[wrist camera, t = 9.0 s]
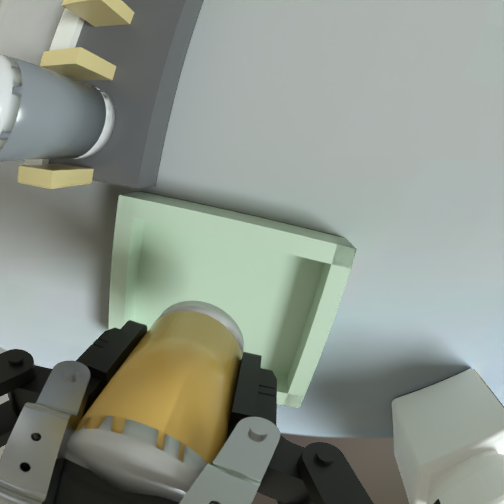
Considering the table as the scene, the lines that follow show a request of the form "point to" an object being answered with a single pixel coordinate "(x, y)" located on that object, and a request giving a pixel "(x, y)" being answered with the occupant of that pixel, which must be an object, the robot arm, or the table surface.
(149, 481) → the cylinder
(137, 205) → the tray
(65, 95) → the cylinder
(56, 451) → the robot arm
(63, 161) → the fuse block
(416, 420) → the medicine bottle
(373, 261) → the table surface
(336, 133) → the table surface
